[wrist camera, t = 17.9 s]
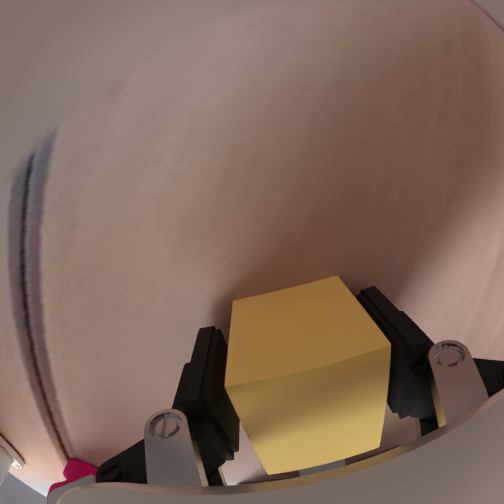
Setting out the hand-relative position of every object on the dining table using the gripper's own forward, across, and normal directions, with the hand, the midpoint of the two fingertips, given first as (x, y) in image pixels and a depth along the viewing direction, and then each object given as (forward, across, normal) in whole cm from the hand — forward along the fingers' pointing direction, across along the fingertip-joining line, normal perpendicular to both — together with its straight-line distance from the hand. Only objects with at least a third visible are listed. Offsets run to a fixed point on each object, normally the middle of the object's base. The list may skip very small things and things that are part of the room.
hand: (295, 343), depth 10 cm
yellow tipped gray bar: (+1, 0, +8) cm, 8 cm away
